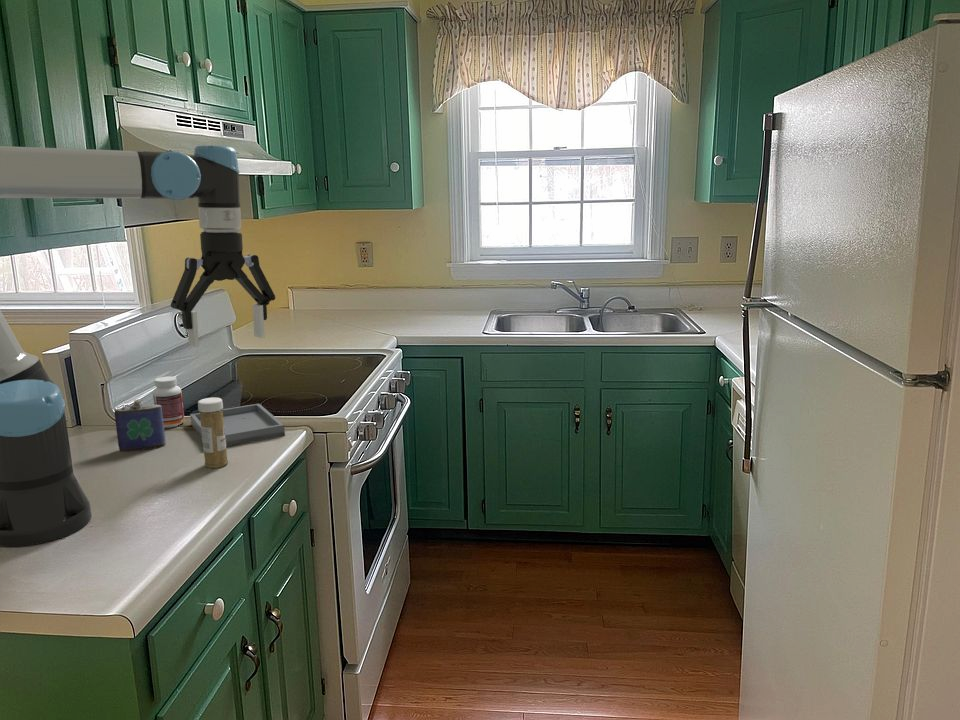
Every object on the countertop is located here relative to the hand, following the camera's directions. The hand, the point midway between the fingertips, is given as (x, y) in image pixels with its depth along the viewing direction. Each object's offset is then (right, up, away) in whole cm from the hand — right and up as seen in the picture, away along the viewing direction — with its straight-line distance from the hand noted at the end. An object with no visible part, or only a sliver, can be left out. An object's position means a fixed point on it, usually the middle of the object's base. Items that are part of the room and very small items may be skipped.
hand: (227, 341), depth 148 cm
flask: (-23, -23, +14) cm, 35 cm away
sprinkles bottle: (-3, -25, +3) cm, 25 cm away
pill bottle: (-23, -19, +29) cm, 42 cm away
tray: (-6, -20, +24) cm, 32 cm away
